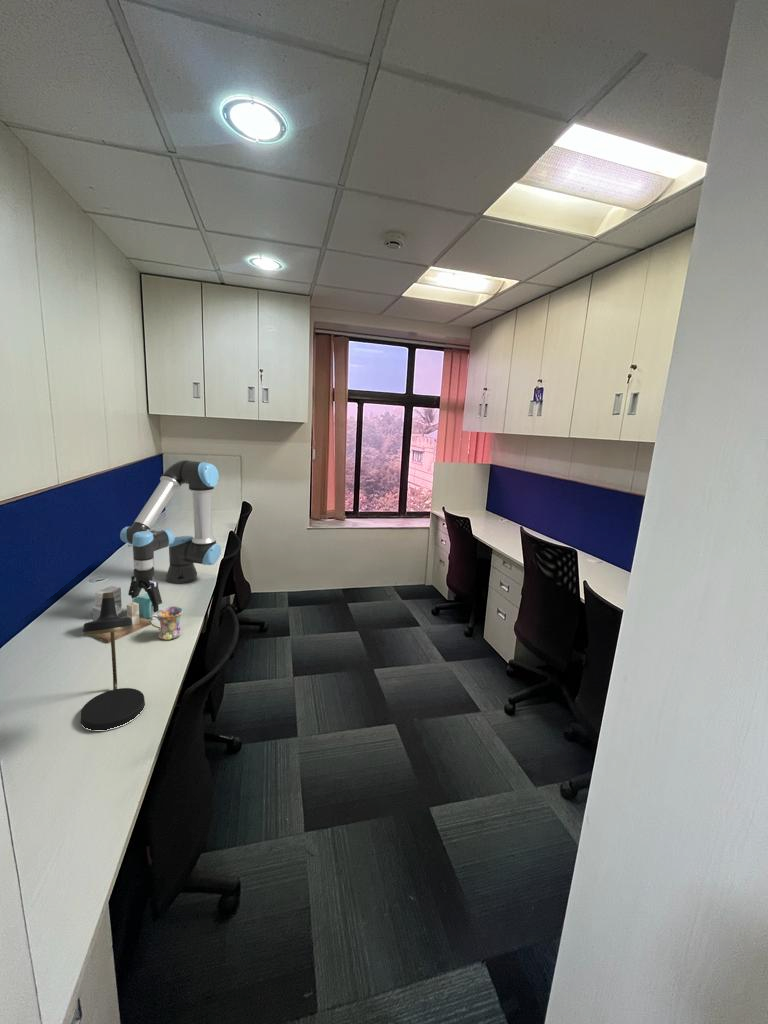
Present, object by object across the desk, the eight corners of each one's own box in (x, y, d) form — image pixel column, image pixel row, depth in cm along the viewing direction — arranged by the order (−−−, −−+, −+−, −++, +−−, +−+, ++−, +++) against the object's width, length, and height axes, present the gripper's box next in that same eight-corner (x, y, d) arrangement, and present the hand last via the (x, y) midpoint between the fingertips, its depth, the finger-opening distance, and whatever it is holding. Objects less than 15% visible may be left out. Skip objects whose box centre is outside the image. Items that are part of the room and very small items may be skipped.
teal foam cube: (147, 610, 184) (146, 593, 182) (156, 614, 182) (156, 596, 180) (134, 615, 179) (133, 598, 177) (144, 619, 176) (143, 601, 175)
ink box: (106, 620, 173) (104, 594, 171) (96, 618, 174) (94, 592, 171) (122, 611, 181) (121, 586, 179) (113, 609, 182) (111, 585, 180)
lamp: (76, 741, 111) (66, 610, 103) (85, 694, 129) (76, 579, 121) (145, 724, 119) (140, 601, 111) (144, 681, 137) (139, 573, 129)
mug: (183, 628, 172) (182, 605, 170) (182, 639, 164) (182, 615, 162) (150, 632, 167) (149, 608, 165) (148, 644, 159) (147, 619, 156)
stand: (132, 616, 178) (131, 593, 175) (151, 624, 173) (150, 600, 171) (88, 634, 162) (86, 609, 159) (108, 643, 157) (106, 617, 155)
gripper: (117, 564, 177) (119, 610, 181) (154, 576, 168) (156, 625, 172) (134, 559, 183) (135, 604, 188) (170, 571, 174) (171, 618, 179)
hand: (145, 614), depth 180 cm, fingers open, 11 cm apart
